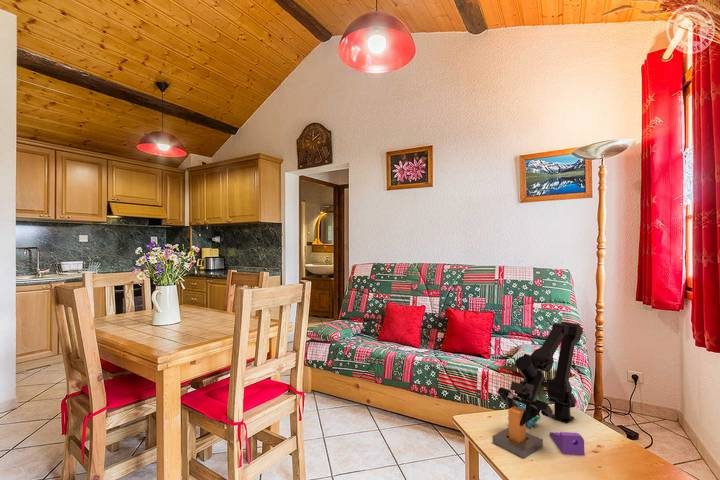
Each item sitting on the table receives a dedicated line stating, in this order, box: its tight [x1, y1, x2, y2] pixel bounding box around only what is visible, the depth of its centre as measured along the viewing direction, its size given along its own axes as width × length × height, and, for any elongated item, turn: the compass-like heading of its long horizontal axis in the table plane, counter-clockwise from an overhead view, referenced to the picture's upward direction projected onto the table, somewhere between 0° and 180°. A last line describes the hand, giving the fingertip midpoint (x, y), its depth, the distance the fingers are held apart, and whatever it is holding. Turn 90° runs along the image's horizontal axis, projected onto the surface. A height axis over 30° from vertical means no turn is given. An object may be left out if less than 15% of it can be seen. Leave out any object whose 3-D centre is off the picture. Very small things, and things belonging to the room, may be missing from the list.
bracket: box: [549, 431, 585, 456], centre depth 130 cm, size 12×7×7 cm, turn 172°
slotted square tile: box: [491, 426, 544, 459], centre depth 131 cm, size 12×12×2 cm
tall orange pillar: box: [507, 406, 527, 444], centre depth 131 cm, size 4×4×11 cm
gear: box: [516, 402, 542, 429], centre depth 146 cm, size 11×6×10 cm
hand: (514, 423), depth 130 cm, fingers closed on tall orange pillar, 4 cm apart
